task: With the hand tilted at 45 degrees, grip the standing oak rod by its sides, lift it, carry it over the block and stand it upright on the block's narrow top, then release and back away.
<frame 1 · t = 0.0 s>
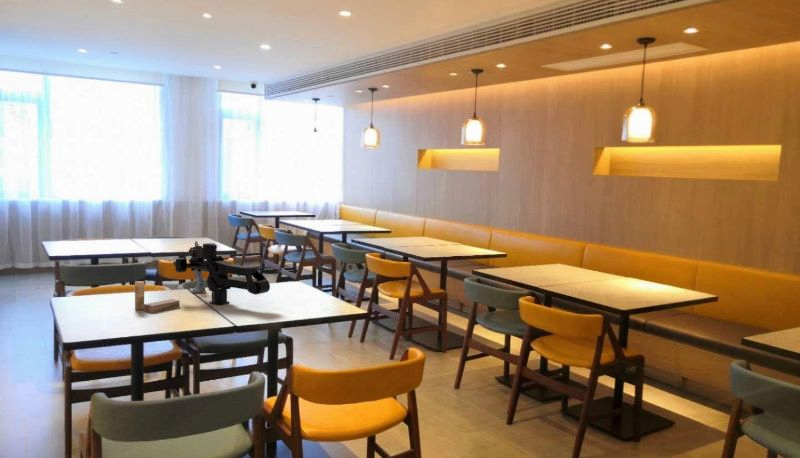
hand: (181, 261, 273), 17 cm above the table, tool horizontal, fingers open, 9 cm apart
block: (162, 309, 247), on the table
antler: (197, 292, 287), on the table
oak rod: (139, 309, 245), on the table
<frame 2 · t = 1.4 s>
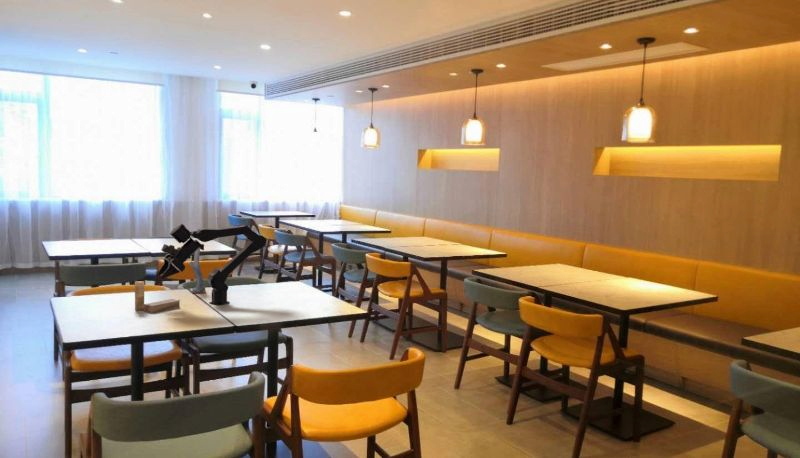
hand: (159, 276, 248), 14 cm above the table, tool tilted 45°, fingers open, 9 cm apart
nothing on the table moved.
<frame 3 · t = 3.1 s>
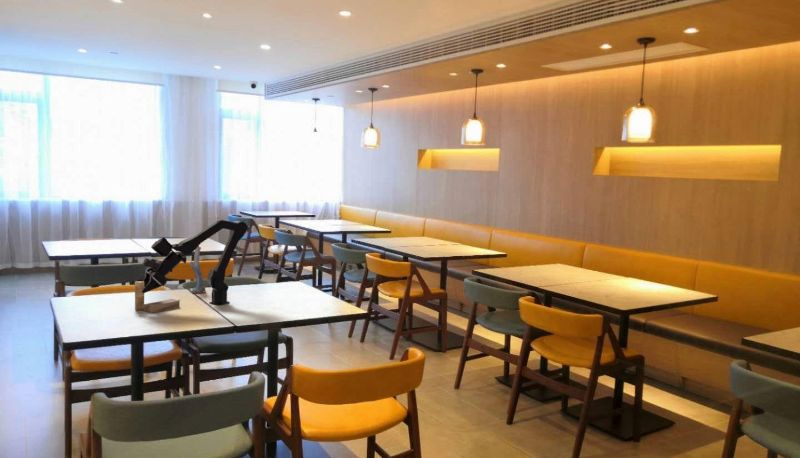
hand: (140, 290, 244), 8 cm above the table, tool tilted 45°, fingers open, 9 cm apart
nothing on the table moved.
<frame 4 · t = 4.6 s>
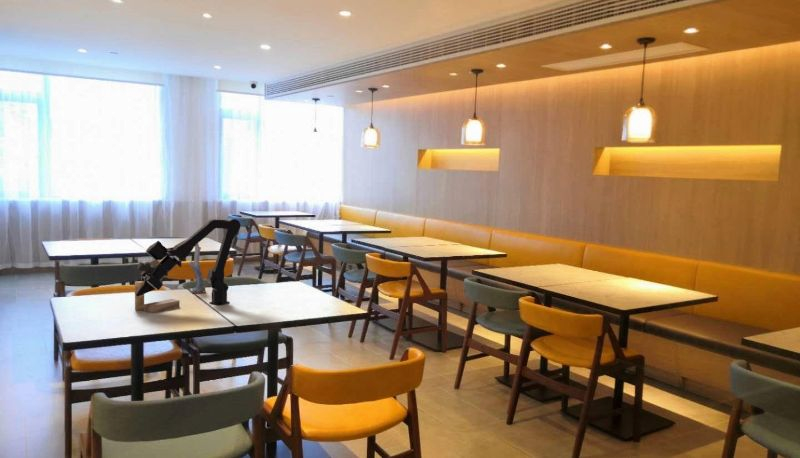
hand: (136, 294, 243), 7 cm above the table, tool tilted 45°, fingers closed on oak rod, 4 cm apart
oak rod: (139, 309, 245), on the table, touching gripper
everything else where it was.
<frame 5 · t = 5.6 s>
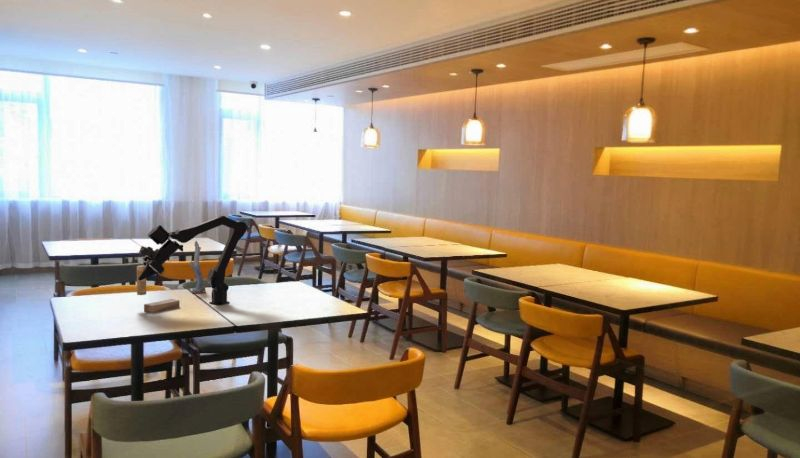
hand: (138, 279, 243), 13 cm above the table, tool tilted 45°, fingers closed on oak rod, 4 cm apart
oak rod: (141, 294, 244), point 7 cm above the table, touching gripper
everything else where it was.
when the fingers open (10 cm above the table, at t = 6.9 s): oak rod stays where it is, resting on block.
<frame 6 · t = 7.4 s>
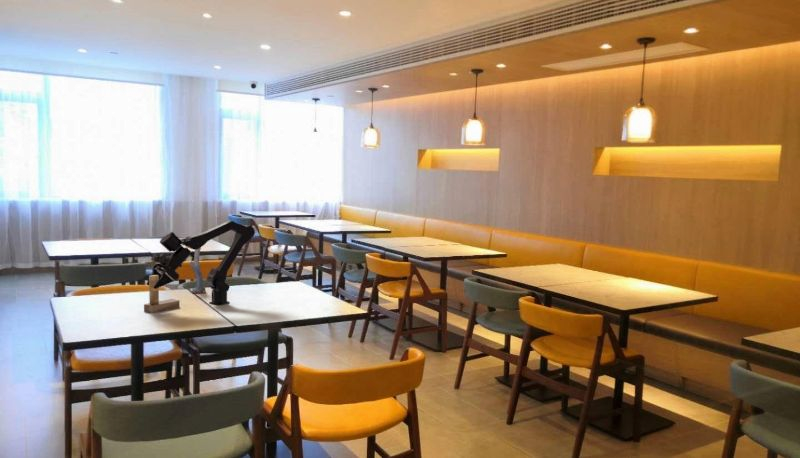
hand: (150, 286, 242), 11 cm above the table, tool tilted 45°, fingers open, 9 cm apart
oak rod: (154, 303, 244), point 3 cm above the table, touching block
everything else where it was.
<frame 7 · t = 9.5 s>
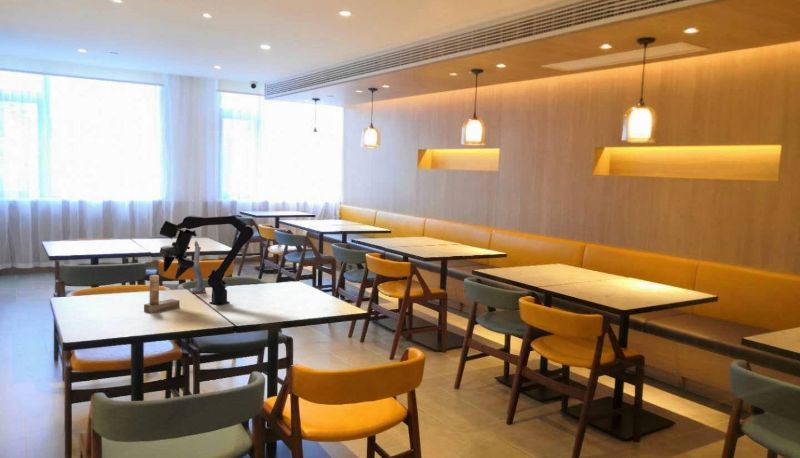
hand: (170, 275, 257), 13 cm above the table, tool tilted 20°, fingers open, 9 cm apart
nothing on the table moved.
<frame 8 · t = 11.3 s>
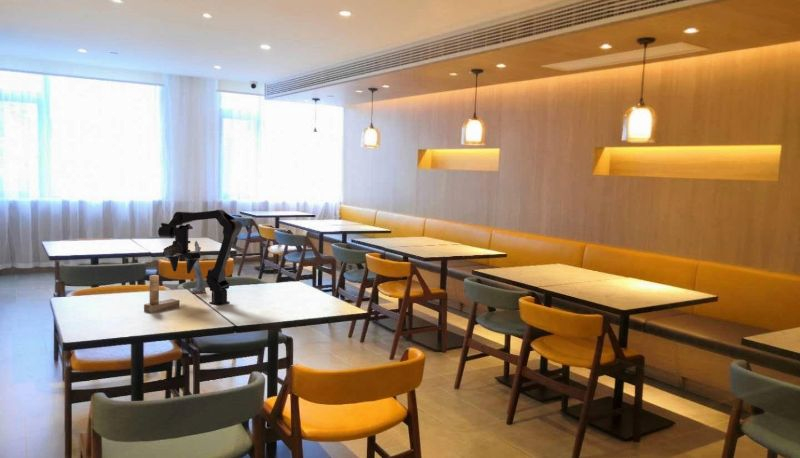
hand: (181, 272, 265), 13 cm above the table, tool pointing down, fingers open, 9 cm apart
nothing on the table moved.
at the end: oak rod inside the target area on the block (3.9 cm from its centre), point 3.0 cm above the block's base; oak rod tilted 0°; the gripper is holding nothing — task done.
